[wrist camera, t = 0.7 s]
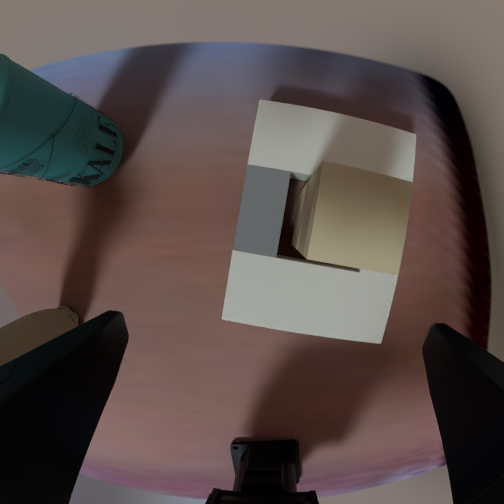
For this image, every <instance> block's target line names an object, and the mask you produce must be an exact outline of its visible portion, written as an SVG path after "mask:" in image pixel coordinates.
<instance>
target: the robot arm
mask: <svg viewBox="0 0 504 504" xmlns="http://www.w3.org/2000/svg"><path fill="white" fill-rule="evenodd" d="M128 339H129V335H128V330H127V327H126V323H125V319H124V316H123V314H122V313H121V312H119V311H112V310H109V311H107V312H105V313H103V314H101V315H99V316H97V317H95V318H93V319H91V320H89V321H87V322H85V323H83V324H81V325H79V326H77V327H75V328H73V329H71V330H69V331H67V332H65V333H64V334H62V335H60V336H58V337H56V338H54V339H52V340H50V341H48V342H46V343H44V344H42V345H40V346H38V347H36V348H34V349H33V350H31V351H29V352H27V353H25V354H23V355H21V356H19V358H15V359H13V360H11V361H9V362H7V363H5V364H3V365H1V366H0V504H69V501H70V498H71V494H72V492H73V488H74V486H75V483H76V480H77V477H78V474H79V471H80V469H81V466H82V463H83V460H84V458H85V455H86V452H87V450H88V447H89V445H90V442H91V439H92V437H93V434H94V432H95V429H96V427H97V424H98V422H99V419H100V417H101V414H102V412H103V409H104V407H105V405H106V402H107V400H108V398H109V395H110V393H111V390H112V388H113V386H114V383H115V381H116V378H117V375H118V371H119V368H120V365H121V362H122V359H123V355H124V352H125V349H126V346H127V343H128ZM422 353H423V358H424V363H425V368H426V373H427V379H428V385H429V390H430V395H431V399H432V403H433V407H434V411H435V414H436V418H437V422H438V426H439V430H440V435H441V439H442V444H443V448H444V453H445V458H446V463H447V468H448V472H449V479H450V485H451V491H452V498H453V504H504V362H502V361H501V360H499V359H498V358H496V357H495V356H494V355H492V354H491V353H489V352H488V351H486V350H485V349H483V348H482V347H480V346H479V345H477V344H476V343H474V342H472V341H471V340H469V339H468V338H466V337H465V336H463V335H462V334H460V333H459V332H457V331H456V330H454V329H452V328H451V327H449V326H448V325H446V324H444V323H436V324H432V325H431V326H430V328H429V331H428V334H427V336H426V339H425V342H424V344H423V348H422ZM292 444H295V445H292ZM234 446H237V447H234ZM230 449H231V454H232V460H233V465H234V470H235V481H234V487H233V491H229V490H220V489H217V488H214V489H213V491H212V493H211V494H210V495H209V497H208V499H207V501H206V503H205V504H319V502H318V499H317V495H316V492H315V490H313V491H309V492H297V488H296V484H297V483H299V443H298V441H297V440H279V441H257V442H233V443H231V446H230Z"/></svg>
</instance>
